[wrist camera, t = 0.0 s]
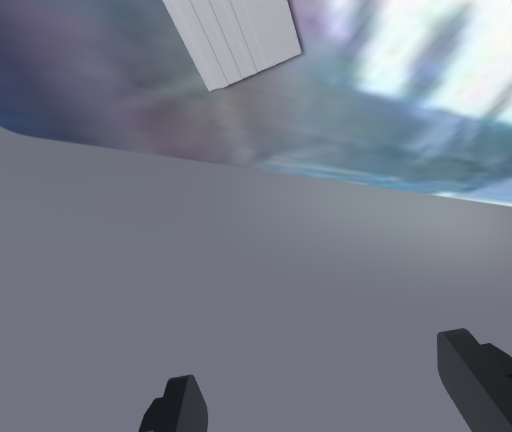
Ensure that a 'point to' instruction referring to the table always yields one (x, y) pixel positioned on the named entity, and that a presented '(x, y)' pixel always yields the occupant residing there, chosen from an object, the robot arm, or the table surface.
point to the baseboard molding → (234, 36)
